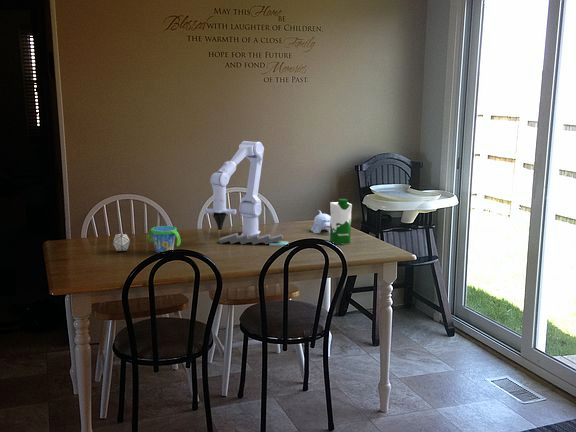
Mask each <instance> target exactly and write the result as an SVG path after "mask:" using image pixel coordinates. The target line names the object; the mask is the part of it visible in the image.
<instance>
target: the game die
mask: <svg viewBox="0 0 576 432" xmlns="http://www.w3.org/2000/svg"><path fill="white" fill-rule="evenodd" d="M132 242H133V240H130V238H129V236H128V232H125V233H115V232H114V238H113V241H111V242H110V244H111V245H112V246H113V247H114V249H115V253H118V252H121V251H123V252H124V251H127V252H128V253H129V247H130V244H131V243H132Z"/></svg>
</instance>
